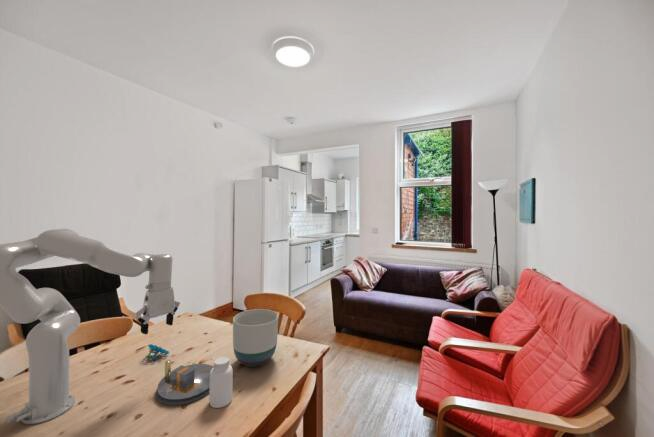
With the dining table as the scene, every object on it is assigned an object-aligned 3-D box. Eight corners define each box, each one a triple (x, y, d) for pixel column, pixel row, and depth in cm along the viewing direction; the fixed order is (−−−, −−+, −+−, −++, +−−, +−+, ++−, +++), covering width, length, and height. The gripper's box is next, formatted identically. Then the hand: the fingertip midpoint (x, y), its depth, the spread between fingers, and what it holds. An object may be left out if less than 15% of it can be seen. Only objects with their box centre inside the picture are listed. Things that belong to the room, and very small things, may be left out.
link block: (171, 386, 99) (172, 370, 99) (181, 380, 103) (181, 365, 103) (184, 391, 96) (185, 375, 96) (194, 385, 100) (194, 369, 100)
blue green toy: (174, 352, 126) (158, 343, 120) (166, 365, 122) (149, 357, 116) (160, 349, 131) (144, 341, 125) (152, 362, 127) (135, 354, 121)
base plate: (183, 413, 90) (183, 410, 90) (142, 395, 98) (142, 392, 98) (230, 377, 110) (230, 375, 110) (192, 365, 119) (192, 363, 119)
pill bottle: (225, 390, 102) (225, 352, 102) (236, 400, 97) (237, 360, 97) (205, 401, 96) (205, 361, 96) (216, 412, 91) (216, 369, 90)
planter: (285, 356, 127) (286, 313, 127) (258, 380, 109) (259, 329, 108) (252, 347, 136) (253, 306, 135) (222, 367, 117) (223, 320, 117)
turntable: (224, 385, 103) (224, 362, 103) (162, 409, 89) (162, 383, 89) (208, 361, 119) (208, 342, 119) (153, 380, 105) (154, 357, 105)
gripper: (142, 292, 94) (139, 339, 93) (186, 282, 109) (183, 323, 109) (130, 288, 97) (127, 335, 97) (174, 280, 112) (172, 319, 112)
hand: (157, 328), depth 103 cm, fingers open, 9 cm apart
